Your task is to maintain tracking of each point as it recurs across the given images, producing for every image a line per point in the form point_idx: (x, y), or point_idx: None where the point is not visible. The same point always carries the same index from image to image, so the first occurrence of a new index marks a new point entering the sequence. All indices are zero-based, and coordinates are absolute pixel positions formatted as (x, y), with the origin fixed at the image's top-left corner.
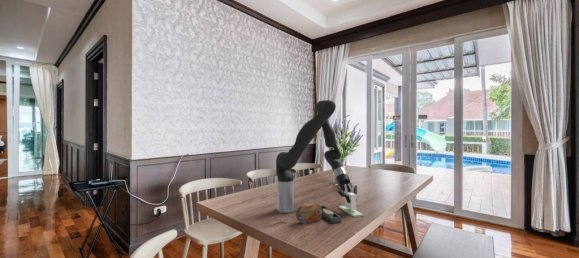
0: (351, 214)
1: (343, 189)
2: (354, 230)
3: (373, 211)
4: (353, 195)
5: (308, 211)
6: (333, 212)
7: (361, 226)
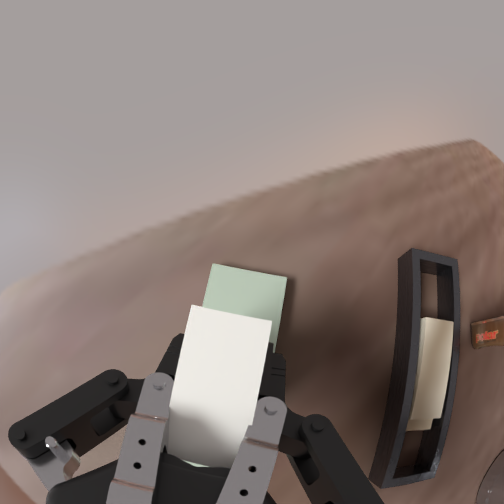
0: (280, 312)
1: (274, 502)
2: (384, 165)
3: (87, 296)
4: (234, 315)
5: None
6: (416, 335)
7: (334, 173)
